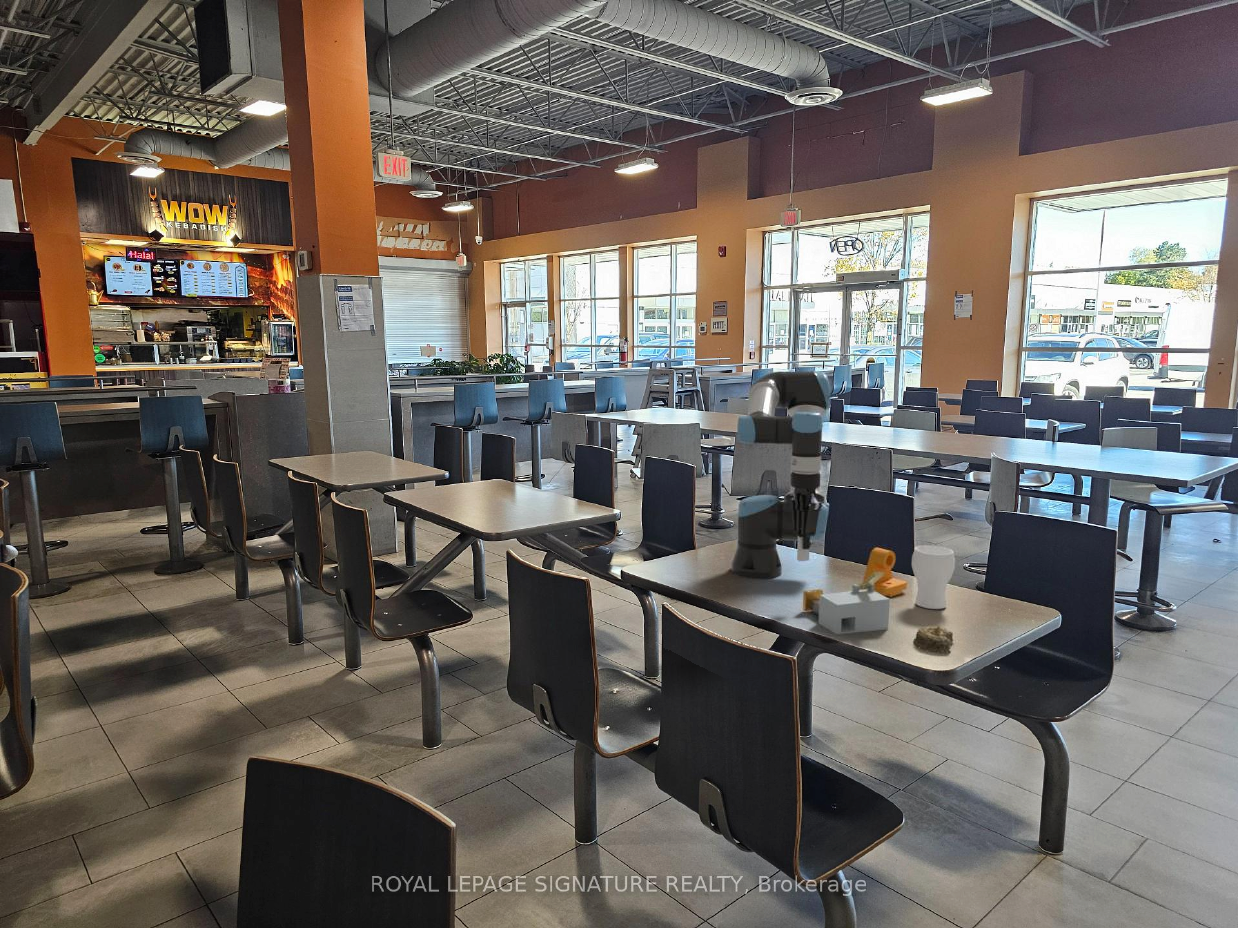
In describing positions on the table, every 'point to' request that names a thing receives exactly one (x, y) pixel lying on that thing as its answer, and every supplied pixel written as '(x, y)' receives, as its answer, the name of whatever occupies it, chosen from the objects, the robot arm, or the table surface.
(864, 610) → the block
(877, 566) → the bracket
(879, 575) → the latch bar
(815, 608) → the pin
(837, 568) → the table surface
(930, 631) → the olive green round lump
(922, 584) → the cup
